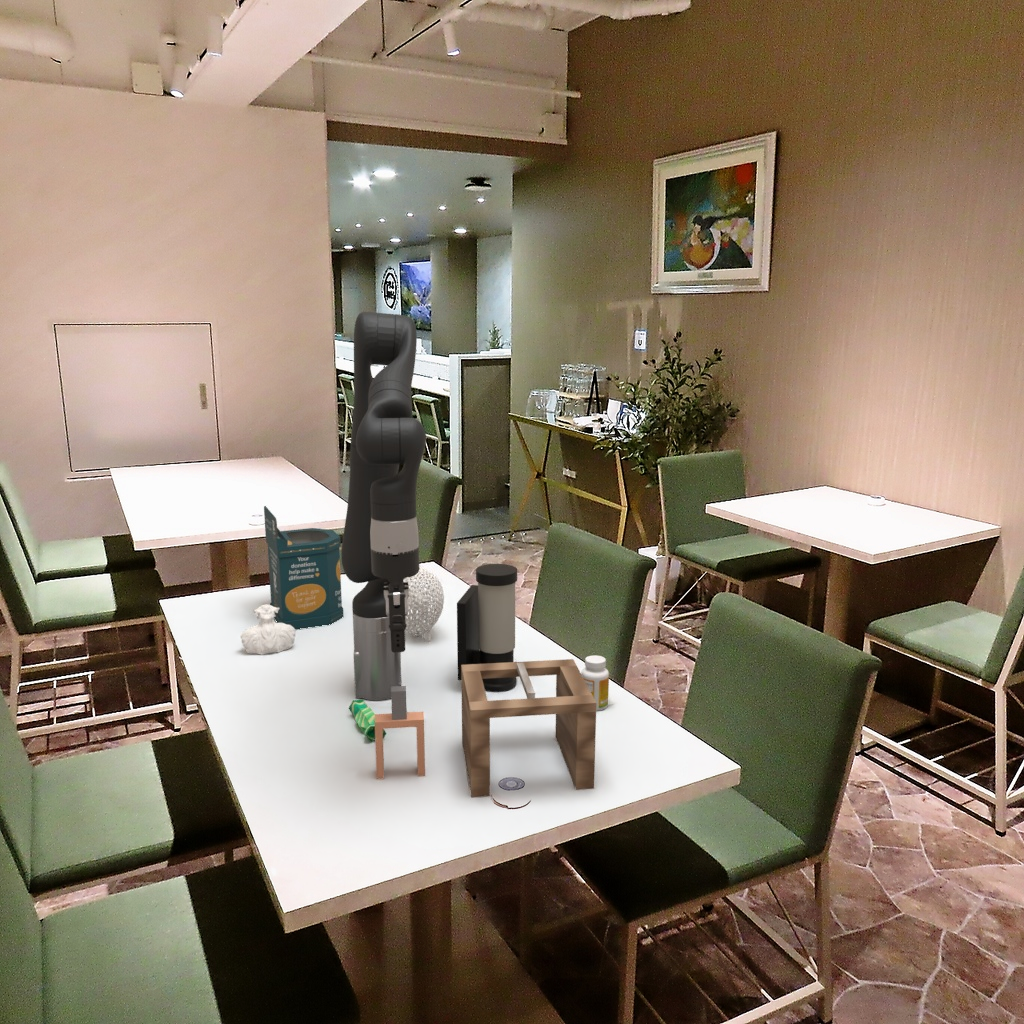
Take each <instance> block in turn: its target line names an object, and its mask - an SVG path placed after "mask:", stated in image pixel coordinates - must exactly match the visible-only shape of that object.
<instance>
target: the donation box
mask: <svg viewBox="0 0 1024 1024" xmlns="http://www.w3.org/2000/svg"><path fill="white" fill-rule="evenodd" d="M263 512H264V514H263V515H264V528H265V529H264V532H265V533H264V534H265V543H266V544H267V559H268V572H269V573H268V574H269V576H268V577H269V592H270V602H269V605H271V606H273V607H276V608H280V609H279V610H278V613H276V612H275V615H276V617H274V618H275V619H274V618H273V619H274V621H275V620H276V621H277V622H276V621H275V622H276V623H284V624H286V625H291V626H292V627H294V629H299V630H301V629H300V628H306V629H309V628H308V627H312V628H316V627H315V626H319V627H323V626H322V625H327V626H332V625H333V624H335V623H337V622H338V621H340V620H341V619H343V618H344V615H345V614H344V608H343V605H342V604H343V603H342V602H343V601H342V580H341V579H342V577H341V556H340V555H341V554H340V552H341V551H340V548H341V547H342V542H341V536H340V535H339V534H338V533H337V532H336V531H334V530H333V529H326V528H325V529H324V528H315V527H308V528H298V529H291V530H290V529H289V530H280V529H279V528H278V521H277V517H276V516H275V515H274V514H273V513H272V512H271V510H270V509H269V508H268V507H267V505H264V506H263ZM342 617H343V618H342ZM337 620H338V621H337ZM334 622H335V623H334ZM332 623H333V624H332ZM329 624H330V625H329ZM331 624H332V625H331Z"/></svg>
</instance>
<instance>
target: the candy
mask: <svg viewBox="0 0 1024 1024" xmlns="http://www.w3.org/2000/svg"><path fill="white" fill-rule="evenodd" d="M348 710H349V711H350V713H351V714H352V716H353V717H354V720H355V722H356V724H357V725H358V728H360V730H361V732H362V734H365V737H366V738H367V739H368V741H369V742H370V743H373V742H374V740H375V714H376V713H375V712H374V711H373V709H372V708H371V707H370V706H368V704H367V703H366V701H365V699H363V698H361V699H353V700H352V702H351V703H350V705H349V707H348ZM386 735H387V732H386V730H385V729H383V740H384V738H385V737H386Z"/></svg>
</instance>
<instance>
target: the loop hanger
mask: <svg viewBox="0 0 1024 1024" xmlns="http://www.w3.org/2000/svg"><path fill="white" fill-rule="evenodd" d="M390 699H391V713H374V714H375V739H374V740H375V744H374V745H375V766H376V767H375V768H376V773H375V774H376V780H384V779H385V758H384V757H385V754H384V739H383V729H384V730H385V729H402V728H403V729H404V728H415V727H416V756H417V757H416V759H417V760H416V761H417V777H426V753H425V752H426V751H425V750H426V749H425V746H426V745H425V741H426V740H425V715H424V711H409V712H407V711H408V710H407V685H401V686H394V687H391V698H390Z"/></svg>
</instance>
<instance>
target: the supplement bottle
mask: <svg viewBox="0 0 1024 1024" xmlns="http://www.w3.org/2000/svg"><path fill="white" fill-rule="evenodd" d="M584 660H585V661H584V667H583V668H582V669H581V671H580V673H581V675H582V677H583V679H584V680H585V682H586V684H587V686H588V688H589V690H590V692H591V694H592V696H593V697H594V699H595V701H596V712H597V711H601V710H602V711H603V710H605V709H606V708H608V706H609V686H610V684H609V683H610V672H609V670H608V669H607V668H606V667H607V666H606V665H607V664H606V663H607V660H606V658H605V657H604V656H601V655H588V656H586V657H585V659H584Z"/></svg>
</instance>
